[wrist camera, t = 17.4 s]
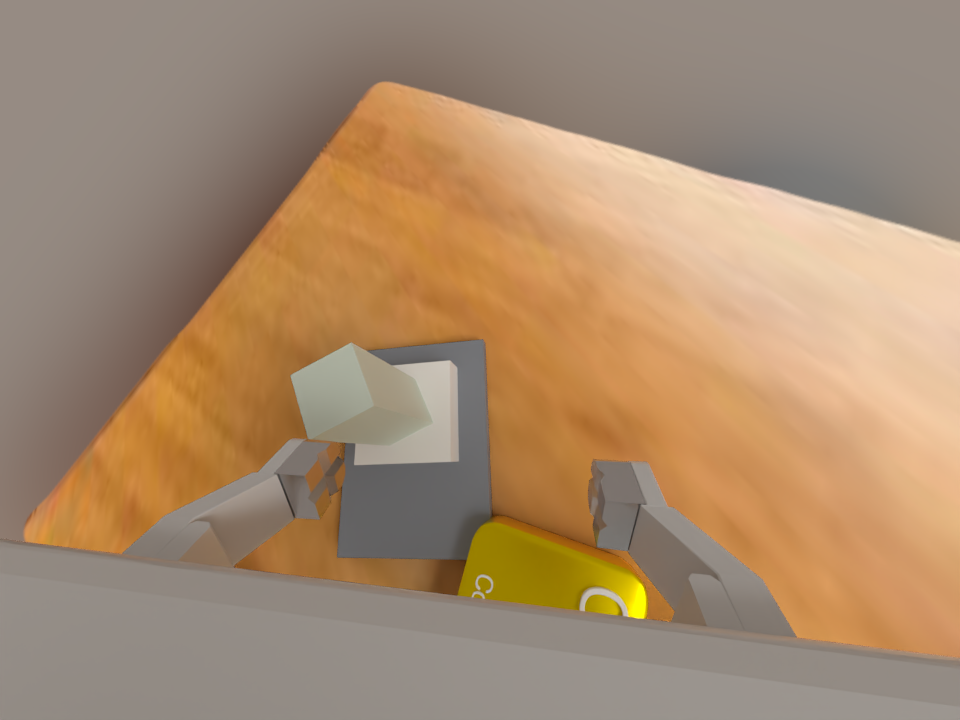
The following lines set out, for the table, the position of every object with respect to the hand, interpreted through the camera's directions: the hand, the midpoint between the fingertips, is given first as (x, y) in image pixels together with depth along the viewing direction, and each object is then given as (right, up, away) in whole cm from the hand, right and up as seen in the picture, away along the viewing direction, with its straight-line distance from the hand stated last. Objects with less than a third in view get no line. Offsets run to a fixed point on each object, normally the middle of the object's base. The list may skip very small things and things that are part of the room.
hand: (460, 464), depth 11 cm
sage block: (-7, -2, +24) cm, 25 cm away
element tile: (+6, -21, +21) cm, 30 cm away
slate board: (-6, -6, +27) cm, 28 cm away
